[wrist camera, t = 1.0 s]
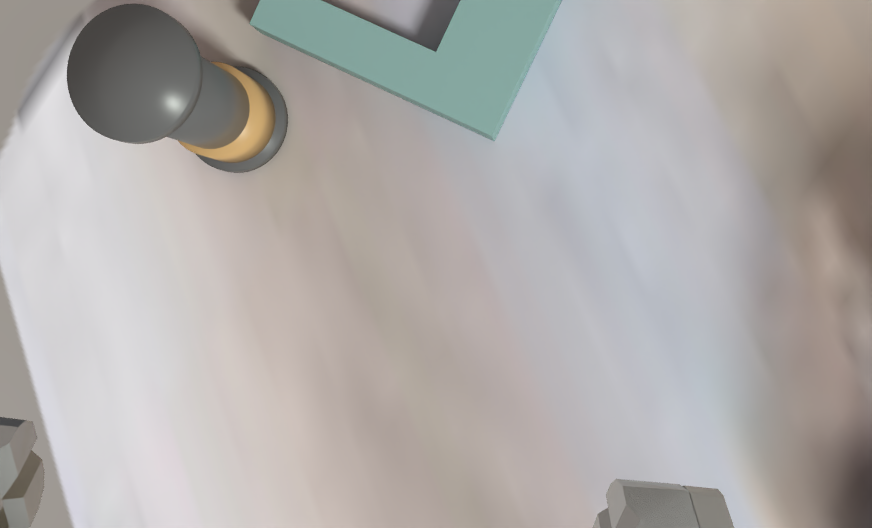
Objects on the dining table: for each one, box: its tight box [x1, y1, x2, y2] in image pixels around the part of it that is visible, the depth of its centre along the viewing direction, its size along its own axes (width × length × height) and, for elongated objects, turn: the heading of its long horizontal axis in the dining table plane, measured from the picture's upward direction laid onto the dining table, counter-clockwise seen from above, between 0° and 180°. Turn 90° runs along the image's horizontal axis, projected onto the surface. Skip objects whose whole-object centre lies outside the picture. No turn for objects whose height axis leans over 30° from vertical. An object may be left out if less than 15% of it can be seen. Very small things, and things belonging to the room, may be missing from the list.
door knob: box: [67, 4, 288, 173], centre depth 45 cm, size 6×6×13 cm
